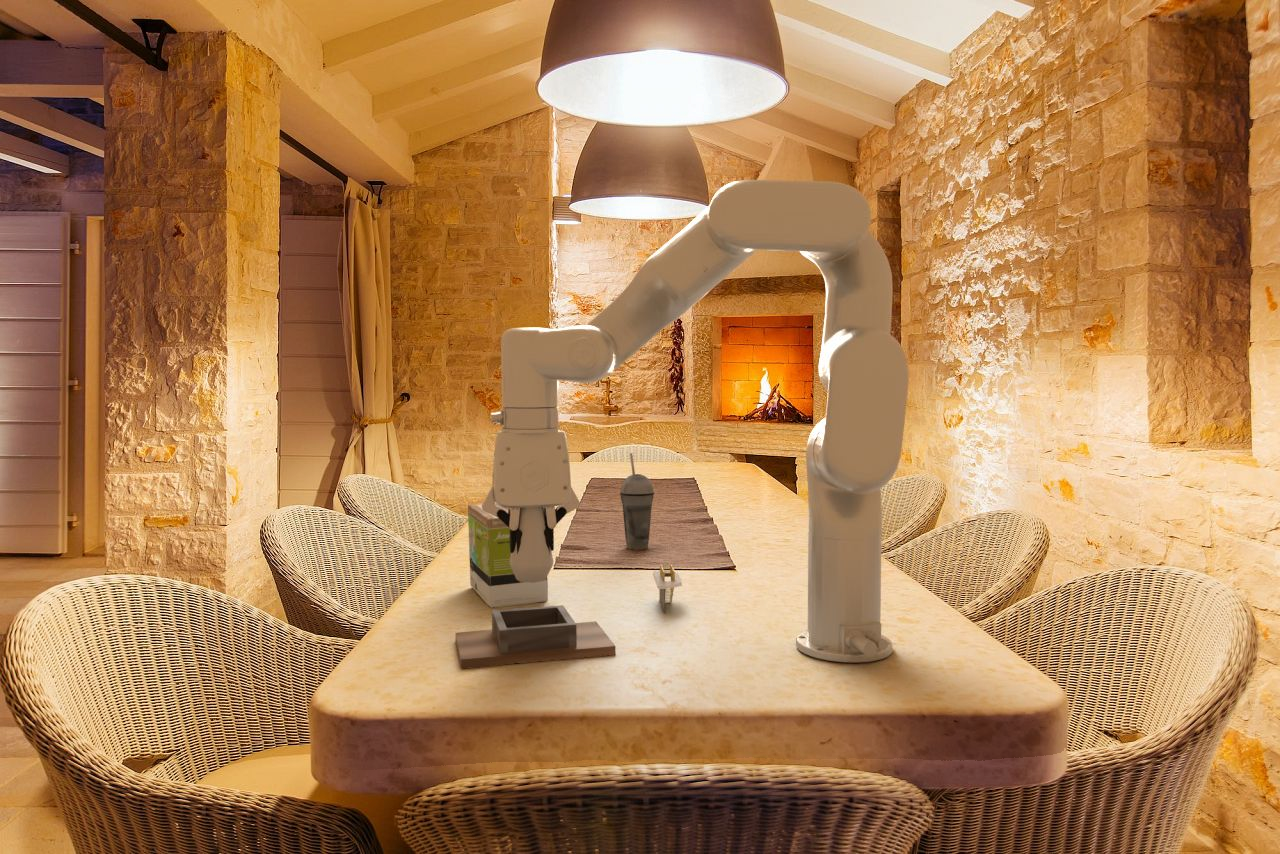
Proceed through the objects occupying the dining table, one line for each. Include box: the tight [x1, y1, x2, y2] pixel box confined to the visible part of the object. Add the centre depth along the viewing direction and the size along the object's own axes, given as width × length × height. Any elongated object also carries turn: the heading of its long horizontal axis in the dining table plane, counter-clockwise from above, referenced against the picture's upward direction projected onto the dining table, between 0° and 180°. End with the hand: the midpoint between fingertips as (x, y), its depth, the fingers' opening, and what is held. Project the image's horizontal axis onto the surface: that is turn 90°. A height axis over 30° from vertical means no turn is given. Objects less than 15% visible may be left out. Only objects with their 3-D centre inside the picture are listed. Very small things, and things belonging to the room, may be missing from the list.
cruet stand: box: [454, 604, 617, 669], centre depth 122 cm, size 12×20×4 cm, turn 105°
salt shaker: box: [510, 507, 554, 583], centre depth 121 cm, size 6×6×13 cm
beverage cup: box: [619, 452, 655, 551], centre depth 189 cm, size 7×7×20 cm
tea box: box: [467, 502, 549, 609], centre depth 150 cm, size 15×10×15 cm, turn 23°
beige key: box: [652, 563, 683, 614], centre depth 142 cm, size 12×18×7 cm, turn 4°
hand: (531, 555), depth 121 cm, fingers closed on salt shaker, 3 cm apart
